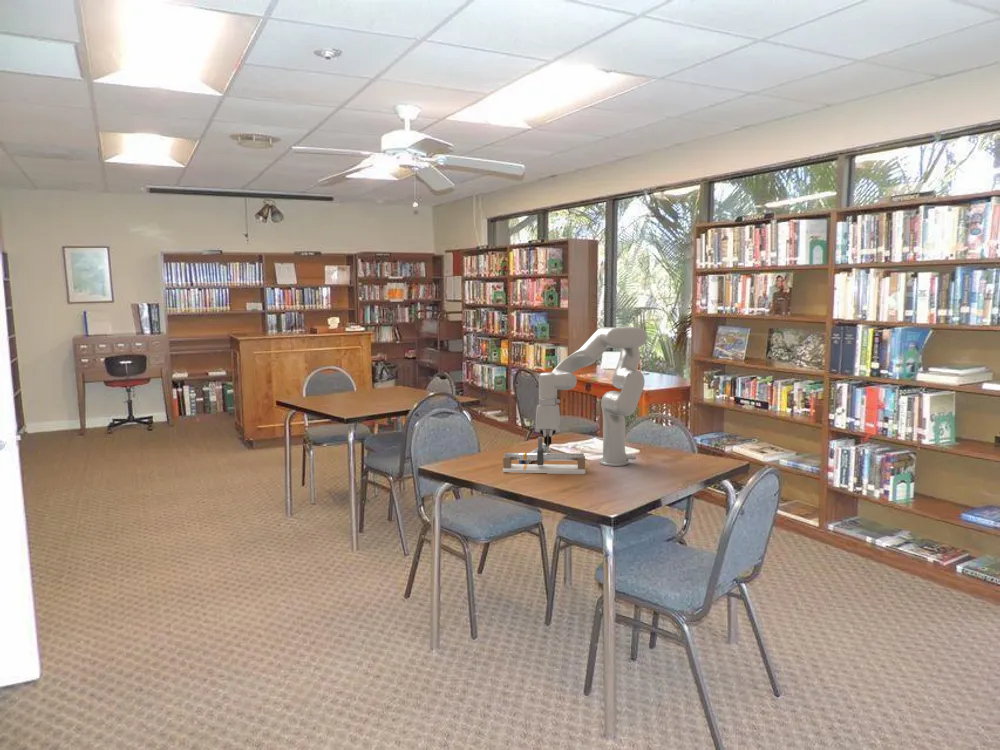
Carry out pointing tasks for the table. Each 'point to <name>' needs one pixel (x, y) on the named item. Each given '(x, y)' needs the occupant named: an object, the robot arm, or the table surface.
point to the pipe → (546, 456)
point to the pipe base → (544, 467)
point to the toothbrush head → (545, 450)
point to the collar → (540, 452)
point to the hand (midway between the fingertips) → (547, 445)
